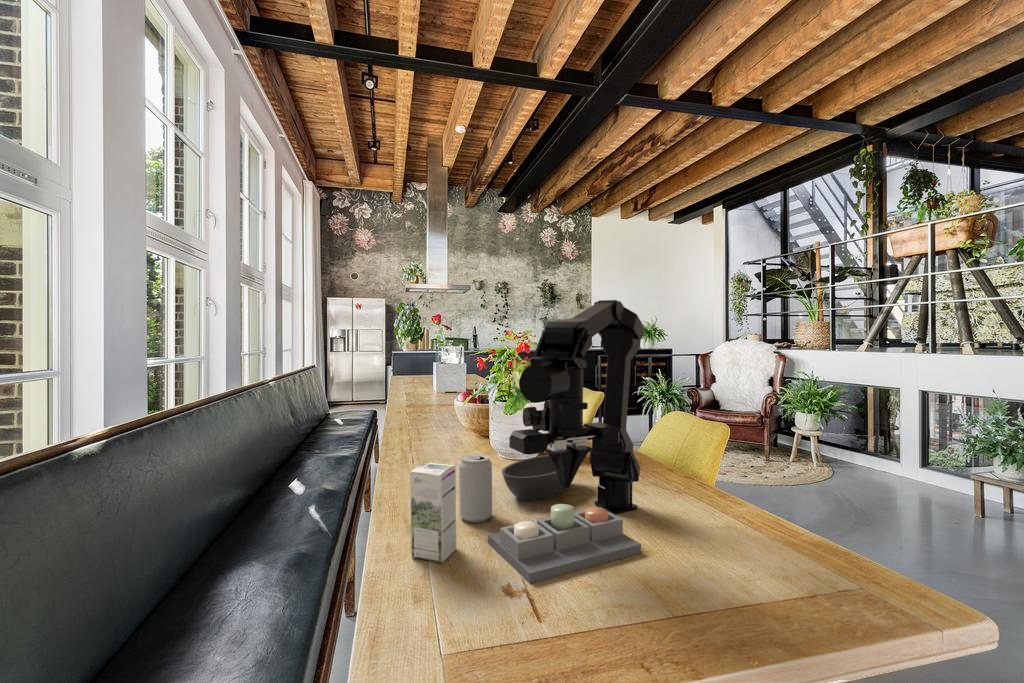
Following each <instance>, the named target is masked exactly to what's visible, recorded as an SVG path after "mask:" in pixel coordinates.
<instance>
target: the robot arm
mask: <svg viewBox="0 0 1024 683" xmlns="http://www.w3.org/2000/svg"><path fill="white" fill-rule="evenodd" d="M644 332H645V331H644V324H643V322H642V320H641V319H640V317H639V315H638V314H637V313H636V312H634V311H632V310H631V309H628V308H627V307H625V306H624V304H623V303H622V301H621V300H617V299H604V300H603V299H602V300H598V301H595V302H594V303H593V305H591V306H590V307H588V308H586V309H585V310H583V311H581V312H580V313H578V314H577V315H575V316H574V317H571V318H562V319H556V320H550V321H548V322H547V323H546V324H545V326H544V329H543V331H541V335H540V337H539V340H538V343H537V345H536V348H535V350H534V354H533V356H532V357H531V358H530V365H528V366H527V367H526V368H525V369H523V371H522V373H521V374H520V378H519V380H518V385H519V390H520V392H521V394H522V396H523V397H524V398H525V399H526V400H527V401H529V402H532V403H534V404H535V403H536V404H537V403H541V402H542V403H543V402H544V403H543V408H542V410H538V409H537V407H536V406H527V407H524V408H523V409H522V423H523V426H524V427H527V429H517V430H512V432H511V435H510V436H509V442H508V443H509V448H510V449H512V450H515V451H517V452H518V453H521V454H523V455H528V456H529V455H537V454H544V453H547V455H549V456H550V457H551V459H552V462H553V464H554V466H555V469H556V472H557V475H558V478H559V481H560V484H561V487H562V488H564V489H565V490H566V489H570V487H571V485H572V482H573V481H574V479H575V476H576V474H578V473H577V472H578V470H579V469H580V467H581V465H582V464H583V462H584V460H585V459H586V457H587V455H588V454H589V461H590V462H589V463H590V467H591V468H590V469H591V474H592V477H595V478H598V484H597V500H594V505H596V507H601V508H604V509H606V510H607V511H608V512H610V513H612V514H618V513H624V512H628V511H632V510H637V509H638V505H636V504H635V503H633V483H634V482H635V483H637V482H640V474H641V472H640V471H641V467H640V464H639V462H638V459H637V458H636V455H635V454H634V443H633V441H632V438H631V437H630V435H629V433H628V431H627V420H628V406H629V395H630V394H629V393H630V381H631V380H630V378H631V366H632V365H631V364H632V360H633V358H634V357H635V356H636V354H637V352H638V351H639V350H640V347H641V341H642V339H643V338H644V337H643V336H644ZM596 335H599V337H600V345H601V346H602V349H603V351H604V353H605V356H606V357H607V364H606V376H605V377H606V378H605V390H604V391H605V392H604V404H603V405H604V406H603V416H602V418H603V419H602V422H600V421H598V422H597V421H595V422H589V423H588V422H587V423H584V418H583V417H584V410H588V407H589V406H588V404H589V402H585V401H584V368H587V367H588V364H587V361H586V360H585V359H584V358H585V356H586V354H587V352H588V351H589V349H590V348H591V347H592V346H593V337H594V336H596ZM528 427H532V428H531V429H530V428H529V429H528ZM541 431H543V432H541ZM544 432H547V433H544ZM588 441H591V446H589V445H588Z"/></svg>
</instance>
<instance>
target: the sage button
mask: <svg viewBox="0 0 1024 683" xmlns="http://www.w3.org/2000/svg"><path fill="white" fill-rule="evenodd" d="M575 509H576V508H575V506H574V505H570V504H565V503H557V504H553V505H551V507H550V517H551V527H553V528H554V529H555V530H557V531H563V530H567V529H572V528H575V512H576V510H575Z"/></svg>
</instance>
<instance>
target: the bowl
mask: <svg viewBox="0 0 1024 683" xmlns="http://www.w3.org/2000/svg"><path fill="white" fill-rule="evenodd" d="M501 475H502V478H503V480H504V482H505V485H506V487H507V488H508V490H509V491H510V492H511V494H512V495H513V496H514V497H515V498H516V499H517V500H518V501H523V502H533V501H534V502H536V501H541V500H546V499H549V498H552V497H555V496H557V495H560V494H561V493H562V492H564V491H565V490H566V489H564V488H562V487H561V484H560V481H559V478H558V475H557V472H556V469H555V466H554V464H553V462H552V459H551V457H550V456H549V454H546V455H540V456H534V457H528V458H525V459H522V460H518V461H515V462H513V463H510V464H508V465H507V466H504V467H503V468H502V470H501Z"/></svg>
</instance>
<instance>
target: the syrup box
mask: <svg viewBox="0 0 1024 683" xmlns="http://www.w3.org/2000/svg"><path fill="white" fill-rule="evenodd" d="M456 469H457V468H456V465H455V464H445V463H435V462H424V463H421V464H420V465H418V466H416V467H415V468H413V469H412V470H410V474H409V475H410V477H409V478H410V480H409V481H410V482H409V483H410V529H411V530H410V531H411V532H410V534H411V535H410V537H411V558H413V559H418V560H424V561H431V562H436V563H443V562H445V561H446V559H448V558H449V557H450V556H451V555H452V554H453V553H454V551H456V550H457V515H456V514H457V513H456V512H457V511H456V510H457V509H456V508H457V507H456V506H457V503H456V502H457V496H456V495H457V494H456V493H457V477H456V476H457V475H456V473H457V472H456Z"/></svg>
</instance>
